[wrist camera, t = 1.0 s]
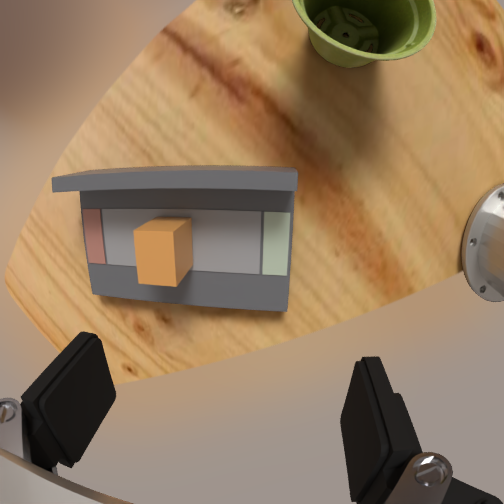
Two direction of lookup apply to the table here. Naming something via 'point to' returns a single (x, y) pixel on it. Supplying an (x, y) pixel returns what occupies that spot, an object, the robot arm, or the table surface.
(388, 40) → the plant pot
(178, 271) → the handle
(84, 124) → the table surface
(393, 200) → the table surface
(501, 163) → the table surface
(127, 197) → the switch panel
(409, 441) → the robot arm
